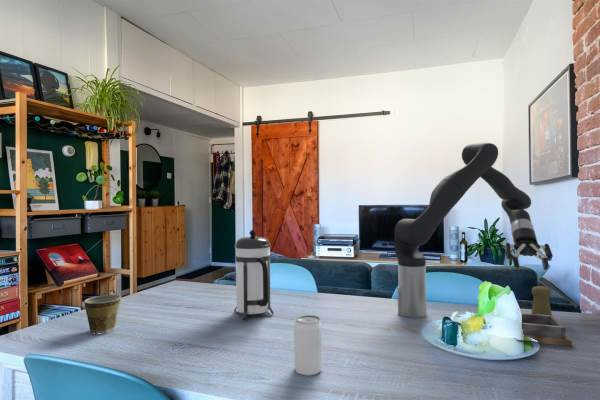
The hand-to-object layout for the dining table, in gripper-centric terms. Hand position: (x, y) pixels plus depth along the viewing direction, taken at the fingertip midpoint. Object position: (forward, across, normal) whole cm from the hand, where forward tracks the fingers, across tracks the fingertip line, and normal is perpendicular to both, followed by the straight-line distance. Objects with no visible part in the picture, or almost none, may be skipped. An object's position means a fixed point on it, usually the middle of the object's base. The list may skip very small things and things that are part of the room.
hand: (531, 268), depth 126 cm
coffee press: (+35, -92, -14) cm, 100 cm away
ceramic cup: (+56, -132, -34) cm, 147 cm away
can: (+59, -61, -37) cm, 92 cm away
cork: (+18, 0, +3) cm, 19 cm away
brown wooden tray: (+29, -5, -8) cm, 30 cm away
